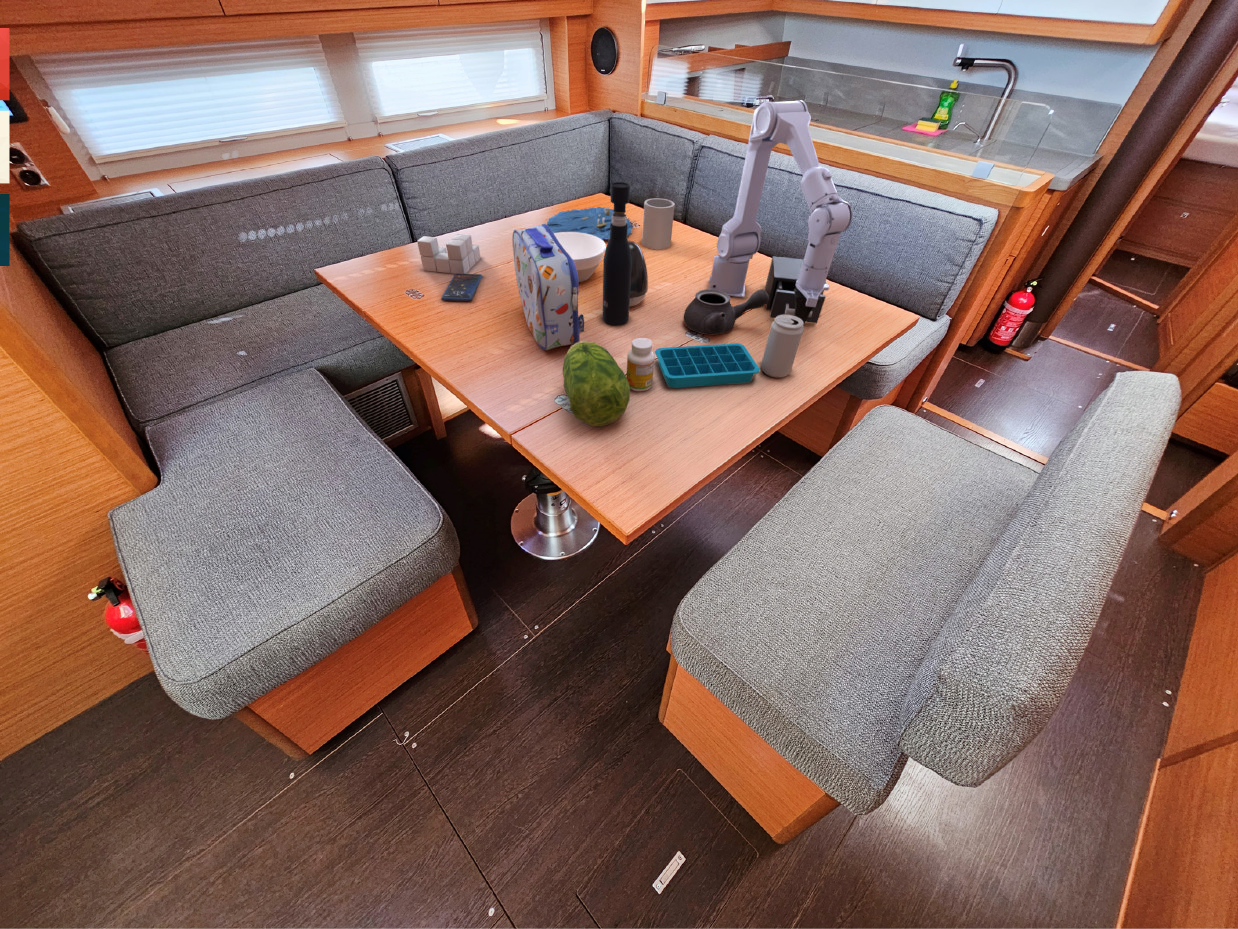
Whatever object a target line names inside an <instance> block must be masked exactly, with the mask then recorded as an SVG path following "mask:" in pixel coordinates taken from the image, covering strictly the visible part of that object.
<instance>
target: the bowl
mask: <svg viewBox="0 0 1238 929" xmlns="http://www.w3.org/2000/svg"><path fill="white" fill-rule="evenodd" d="M554 235H555V236H556V238H557V239H558V241H559V243H560V244H561V245H562V247H563V248H564V249H565V251H566V252H567V253H568V254H569V255H570V257H571V258H572V259H573V261H574V263H575V266H576V269H577V272H578V283H582V282H586V281H587V280H588V279H589V278H591V276H592V275H593V274H594V273H595V272H596V270H597V268H598V267H599V266H600V264H601V263H602V260H603V259H604V255H605V250H606V247H607V244H606V242H605V241H604V239H600V238H598V237H596V236H593V235H590V234H585V233H578V232H564V231H561V232H559V233H554Z"/></svg>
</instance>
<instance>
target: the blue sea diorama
mask: <svg viewBox="0 0 1238 929" xmlns="http://www.w3.org/2000/svg"><path fill="white" fill-rule="evenodd" d="M613 210H614V208H610V207H600V206H597V207H589V208H583V209H582V208H581V209H571V210H569V209H568V210H565V211H560V212H558V213H557V214H554V215H553V216H551V217H549V218H548V221H547V222H546V225H548V226H549V228H550V229H551V230H552V232H553V233H559V232H578V233H585V234H590V235H593V236H596V237H598V238H600V239H601V240H609V238H610V224H611V223H612V221H611V220H612V218H611V217H612V214H614V212H613ZM626 220H627V225H628V230H627V237H628V236H630V235H632V232H633V229H634V226H633V224H632V223H631V221H630V219H629V218H627V219H626Z"/></svg>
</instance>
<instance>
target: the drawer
mask: <svg viewBox="0 0 1238 929" xmlns="http://www.w3.org/2000/svg"><path fill="white" fill-rule="evenodd" d="M795 288H797V287H796V283H795V282H786V281H776V285H775V289H774V293H773V297H772V309H771V310H770V313H769V318H770V319H775V318H776V317H777V316H779V315H793V316H794V313H795V293H794V289H795ZM820 297H821V300H820V302H819V303H818V304H817V305H816V307H814V308H813V309H812V311H811V312H810V314H809V316H808V317H807V319H806V321H805V322H804V323H810V324H818V322H819V319H820V316H821V312H822V309H823V306H824V304H825V300H826V294H823V295H821V294H820Z"/></svg>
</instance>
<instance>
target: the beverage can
mask: <svg viewBox="0 0 1238 929" xmlns="http://www.w3.org/2000/svg"><path fill="white" fill-rule="evenodd" d="M804 324H805V322H804V323H803V321H802V320H801V319H800V318H798V317H796V316H793V315H779V316H777V317H776V318H774V320H773V321H772V322H771V324H770V325H771V326H770V329H769V333H768V337H767V341H766V345H765V347H764V348H765V349H764V352H763V355H762V360H761V364H760V370H761V371H763V373H764V374H765V375H767V376H769V377H772V378H778V379H779V378H784V377H787V376H788V375H790V374H791V372H792V369H793V367H794V366H793V365H794V362H795V359H796V357H797V353H798V349H799V348H800V347H799V346H800V343H801V340H802V337H803V335H804V330H805V329H804Z"/></svg>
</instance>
